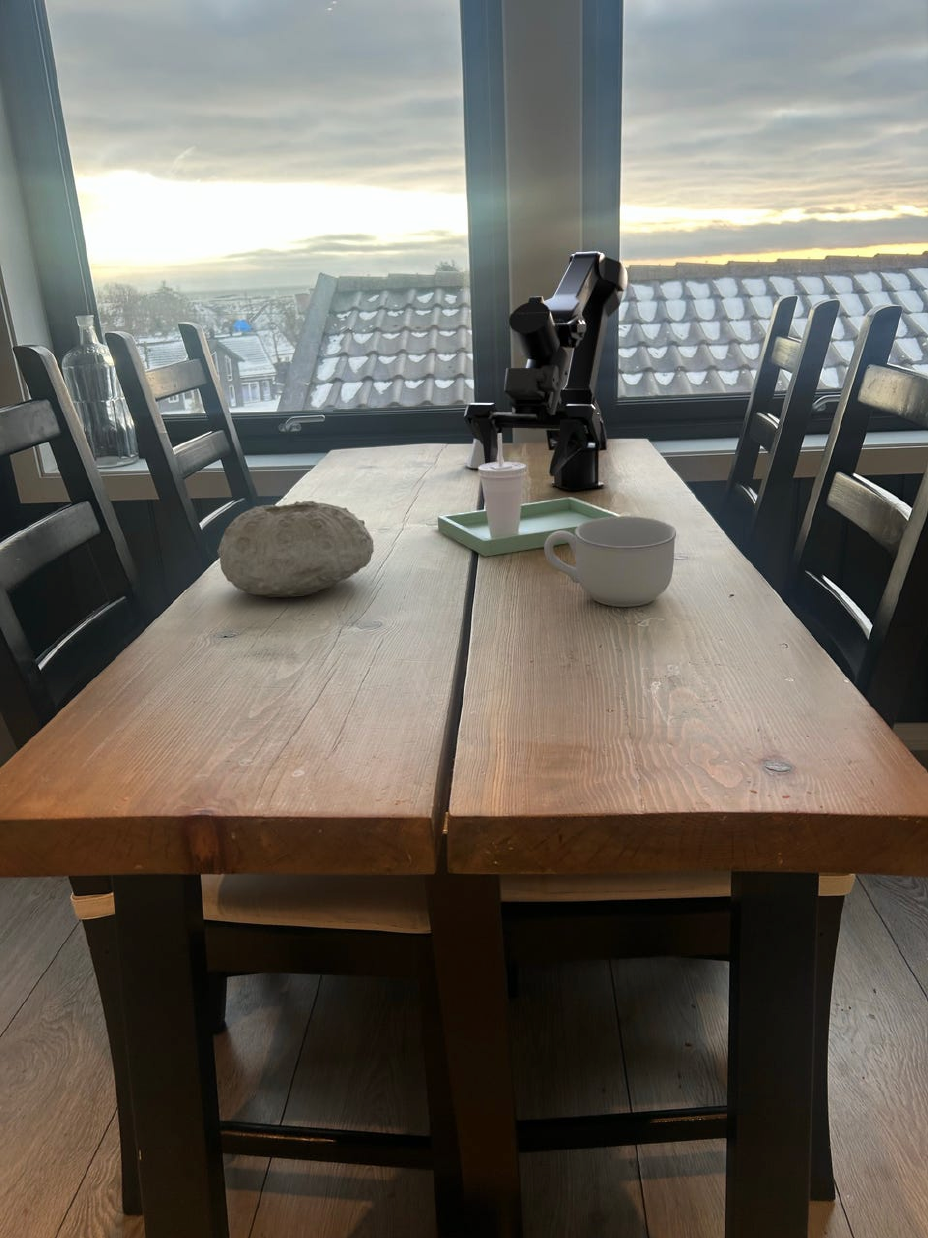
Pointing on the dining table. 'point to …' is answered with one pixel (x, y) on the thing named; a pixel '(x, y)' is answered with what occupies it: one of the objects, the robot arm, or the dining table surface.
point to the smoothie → (502, 494)
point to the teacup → (619, 558)
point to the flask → (477, 455)
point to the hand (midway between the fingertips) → (519, 473)
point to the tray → (521, 525)
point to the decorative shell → (293, 548)
